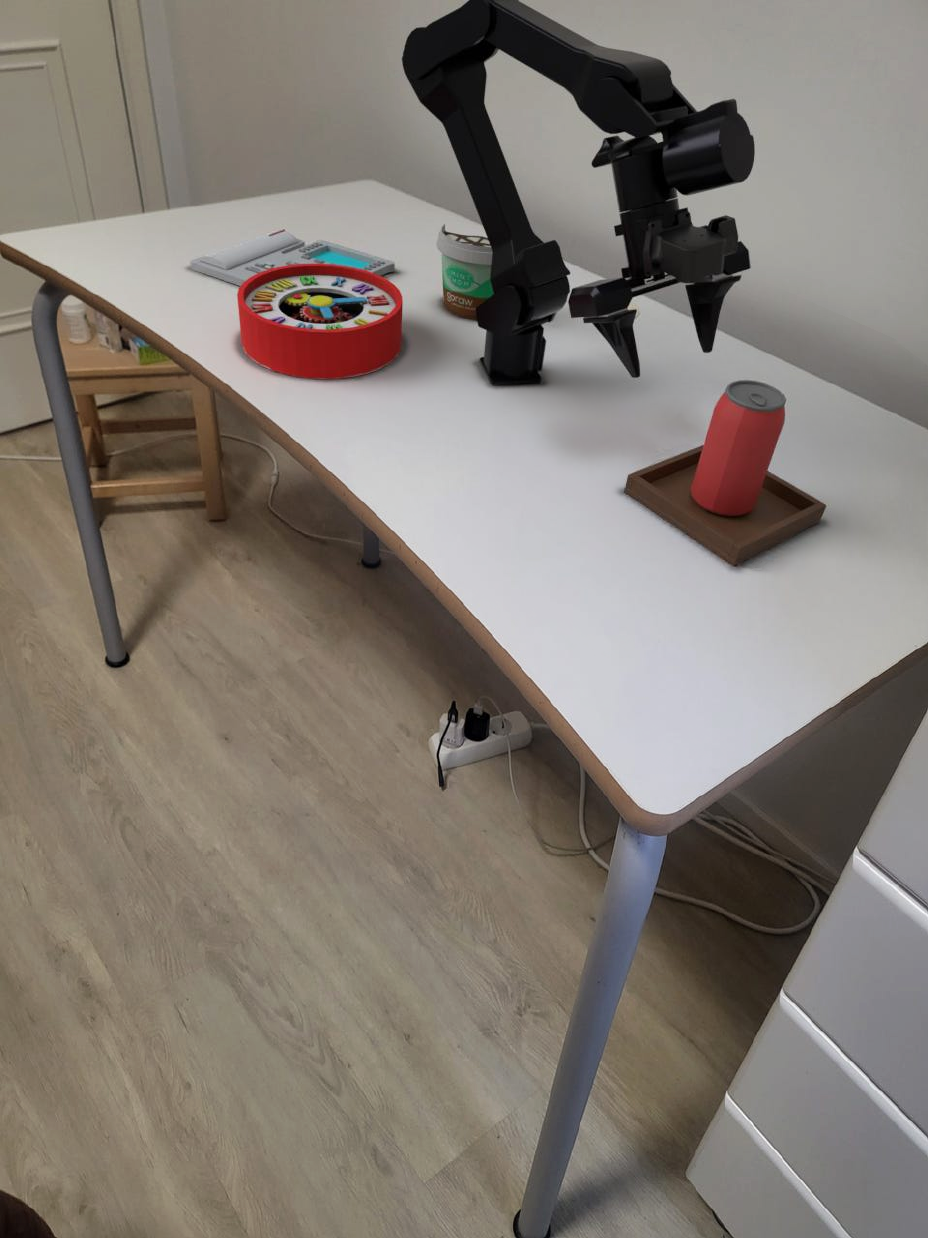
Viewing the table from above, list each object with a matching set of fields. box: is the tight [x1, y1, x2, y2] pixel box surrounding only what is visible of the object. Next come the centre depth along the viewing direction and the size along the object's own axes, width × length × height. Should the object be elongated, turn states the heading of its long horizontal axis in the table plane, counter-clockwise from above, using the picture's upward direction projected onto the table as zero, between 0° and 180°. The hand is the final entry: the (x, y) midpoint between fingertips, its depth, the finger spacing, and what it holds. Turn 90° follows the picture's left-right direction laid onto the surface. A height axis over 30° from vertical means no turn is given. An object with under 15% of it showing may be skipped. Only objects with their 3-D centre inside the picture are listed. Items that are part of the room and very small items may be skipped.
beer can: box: [691, 379, 787, 517], centre depth 86 cm, size 7×7×12 cm
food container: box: [435, 223, 494, 321], centre depth 119 cm, size 12×6×10 cm, turn 68°
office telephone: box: [189, 228, 396, 287], centre depth 128 cm, size 23×3×20 cm
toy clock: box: [236, 263, 404, 380], centre depth 110 cm, size 20×6×20 cm
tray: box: [623, 444, 827, 567], centre depth 89 cm, size 15×14×2 cm
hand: (672, 364), depth 93 cm, fingers open, 9 cm apart
